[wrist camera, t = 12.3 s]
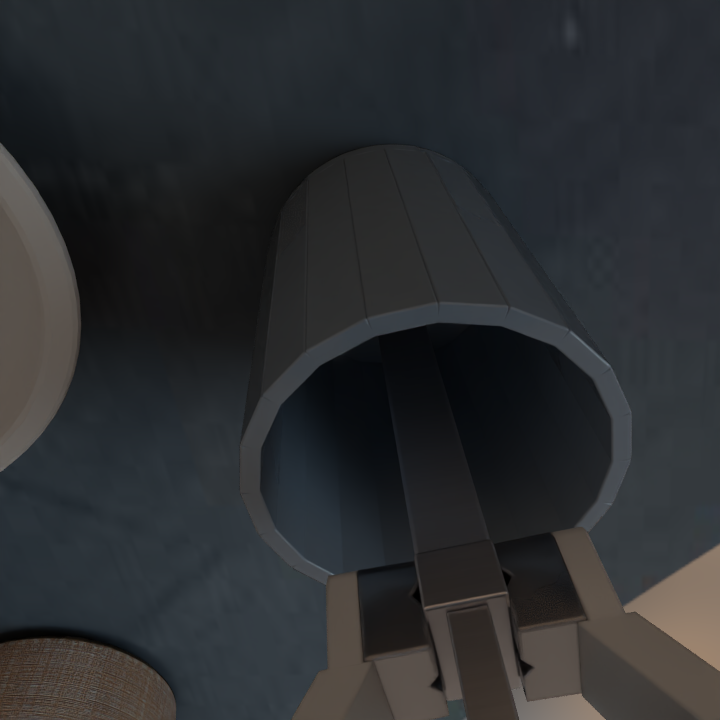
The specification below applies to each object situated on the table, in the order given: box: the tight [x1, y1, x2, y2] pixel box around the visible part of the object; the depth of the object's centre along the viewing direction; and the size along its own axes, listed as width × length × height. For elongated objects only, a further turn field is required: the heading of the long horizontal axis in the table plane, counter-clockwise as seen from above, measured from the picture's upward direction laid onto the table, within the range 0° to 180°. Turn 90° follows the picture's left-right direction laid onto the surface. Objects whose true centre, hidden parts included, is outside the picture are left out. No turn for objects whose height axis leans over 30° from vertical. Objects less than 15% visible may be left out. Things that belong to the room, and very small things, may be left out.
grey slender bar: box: [378, 325, 522, 720], centre depth 12 cm, size 1×2×12 cm, turn 12°
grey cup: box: [240, 144, 632, 586], centre depth 17 cm, size 8×8×10 cm
